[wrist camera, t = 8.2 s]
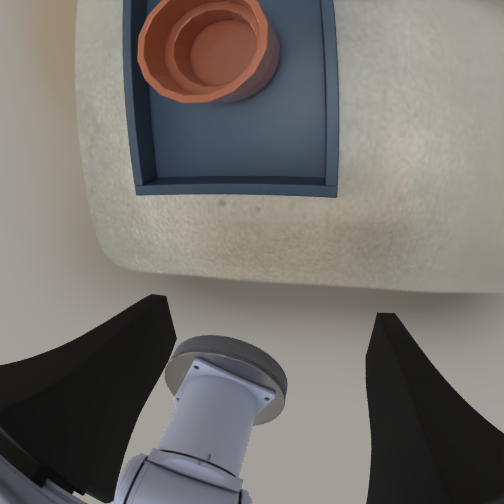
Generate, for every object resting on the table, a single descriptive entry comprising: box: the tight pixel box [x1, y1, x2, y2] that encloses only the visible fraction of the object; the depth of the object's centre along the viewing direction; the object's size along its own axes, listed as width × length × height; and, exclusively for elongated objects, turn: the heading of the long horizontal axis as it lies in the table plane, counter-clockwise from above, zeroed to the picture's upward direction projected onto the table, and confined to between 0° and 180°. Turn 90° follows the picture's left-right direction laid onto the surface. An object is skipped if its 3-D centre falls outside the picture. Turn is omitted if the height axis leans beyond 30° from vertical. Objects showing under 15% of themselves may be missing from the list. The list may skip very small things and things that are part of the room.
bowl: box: [137, 0, 280, 103], centre depth 12 cm, size 6×6×4 cm
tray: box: [123, 0, 339, 198], centre depth 13 cm, size 15×11×2 cm
